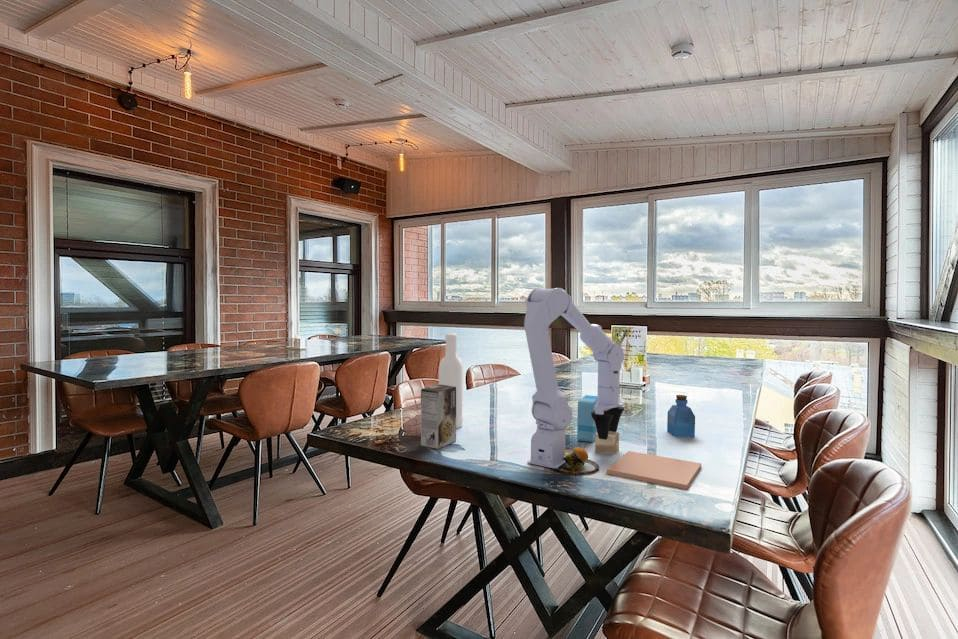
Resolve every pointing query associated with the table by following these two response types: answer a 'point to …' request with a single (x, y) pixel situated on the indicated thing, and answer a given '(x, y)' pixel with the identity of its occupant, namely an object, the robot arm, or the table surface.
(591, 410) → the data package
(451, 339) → the bottle
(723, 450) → the table surface
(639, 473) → the terracotta tile
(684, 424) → the perfume bottle
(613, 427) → the robot arm
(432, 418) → the coffee box
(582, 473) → the burger
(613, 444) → the birch cube
